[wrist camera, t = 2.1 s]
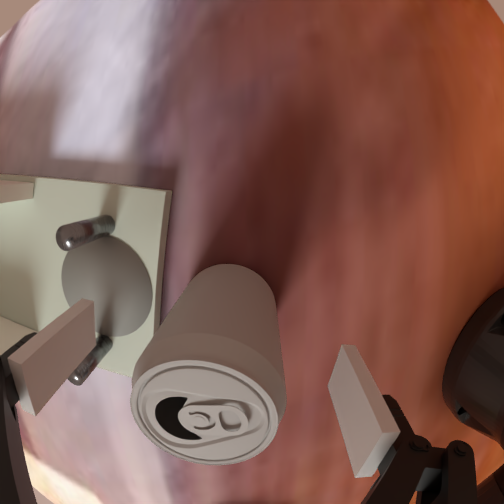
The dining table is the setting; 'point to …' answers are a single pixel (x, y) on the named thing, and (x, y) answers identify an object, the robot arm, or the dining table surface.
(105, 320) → the board
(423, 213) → the dining table surface
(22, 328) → the housing
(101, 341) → the pins
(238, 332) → the beverage can
